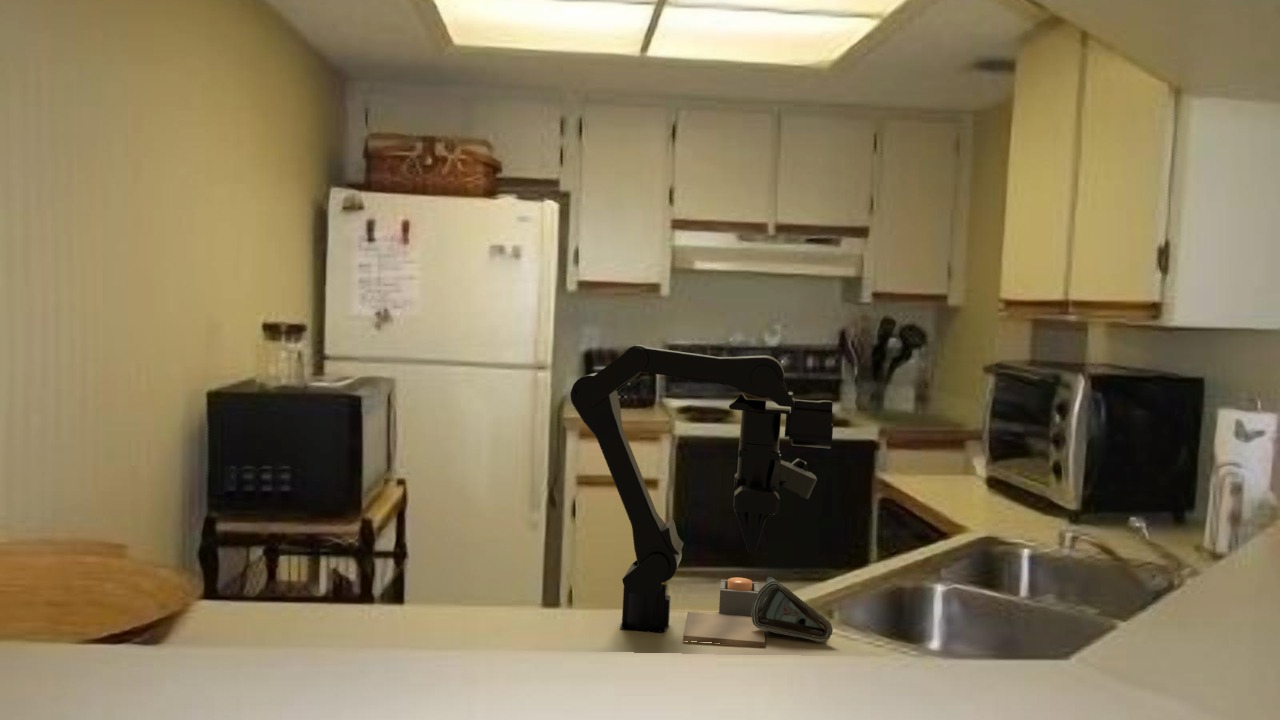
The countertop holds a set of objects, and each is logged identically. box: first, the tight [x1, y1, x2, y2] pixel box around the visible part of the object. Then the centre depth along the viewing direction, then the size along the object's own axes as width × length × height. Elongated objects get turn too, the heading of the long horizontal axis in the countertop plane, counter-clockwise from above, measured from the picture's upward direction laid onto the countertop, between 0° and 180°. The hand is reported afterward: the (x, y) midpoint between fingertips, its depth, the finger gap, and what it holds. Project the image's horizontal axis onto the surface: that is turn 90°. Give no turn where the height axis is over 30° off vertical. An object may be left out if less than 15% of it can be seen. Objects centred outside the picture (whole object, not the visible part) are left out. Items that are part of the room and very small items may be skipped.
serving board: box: [682, 611, 766, 648], centre depth 143 cm, size 12×11×1 cm
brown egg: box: [727, 577, 753, 591], centre depth 154 cm, size 4×4×4 cm
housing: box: [718, 579, 760, 617], centre depth 154 cm, size 6×6×4 cm
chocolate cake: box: [751, 576, 834, 643], centre depth 144 cm, size 10×7×12 cm
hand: (751, 548), depth 142 cm, fingers open, 5 cm apart
